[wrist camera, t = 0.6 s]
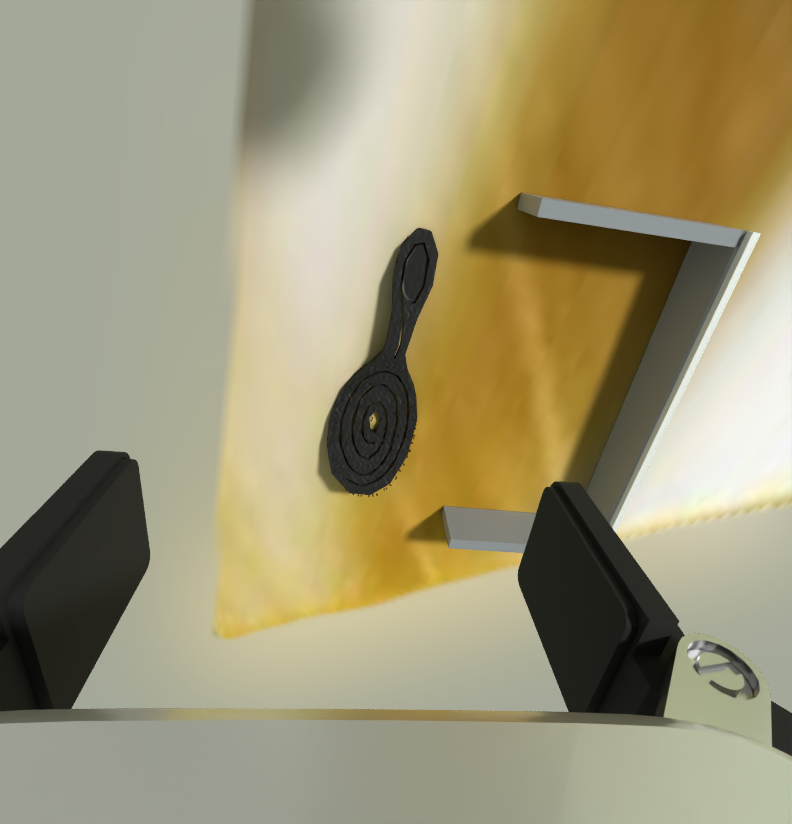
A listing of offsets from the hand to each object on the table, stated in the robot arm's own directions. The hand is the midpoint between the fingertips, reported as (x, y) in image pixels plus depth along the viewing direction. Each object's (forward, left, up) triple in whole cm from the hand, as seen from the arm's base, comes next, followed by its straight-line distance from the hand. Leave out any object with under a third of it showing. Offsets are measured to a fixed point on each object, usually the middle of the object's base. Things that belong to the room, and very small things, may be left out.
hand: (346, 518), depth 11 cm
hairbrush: (+9, +4, -32) cm, 33 cm away
